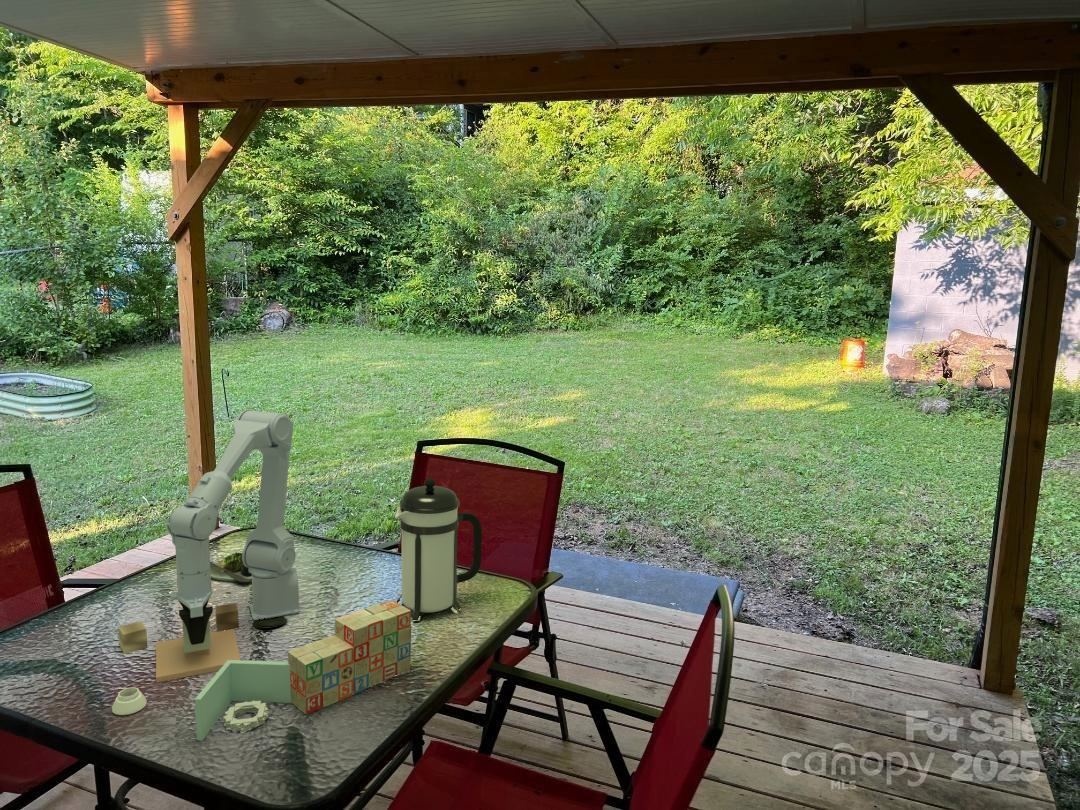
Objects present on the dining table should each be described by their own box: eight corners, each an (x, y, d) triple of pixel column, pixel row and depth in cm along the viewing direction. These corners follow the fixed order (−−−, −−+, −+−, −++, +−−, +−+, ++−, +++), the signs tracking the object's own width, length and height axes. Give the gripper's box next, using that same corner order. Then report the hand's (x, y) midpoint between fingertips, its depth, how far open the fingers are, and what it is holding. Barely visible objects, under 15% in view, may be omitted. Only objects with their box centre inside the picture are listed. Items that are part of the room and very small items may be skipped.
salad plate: (182, 581, 173) (181, 563, 172) (227, 554, 190) (226, 537, 189) (256, 590, 169) (255, 571, 169) (295, 562, 187) (295, 545, 186)
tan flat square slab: (234, 633, 148) (234, 628, 148) (240, 666, 136) (240, 661, 136) (156, 647, 142) (156, 642, 141) (156, 682, 129) (155, 677, 129)
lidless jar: (153, 702, 124) (126, 698, 125) (152, 686, 123) (125, 682, 124) (132, 719, 119) (105, 715, 120) (131, 702, 119) (103, 698, 119)
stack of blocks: (305, 716, 121) (304, 647, 119) (287, 701, 125) (286, 634, 123) (411, 671, 136) (411, 609, 134) (392, 658, 141) (392, 598, 139)
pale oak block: (142, 640, 144) (140, 621, 144) (147, 647, 141) (146, 628, 141) (119, 646, 142) (118, 627, 141) (124, 654, 139) (123, 634, 138)
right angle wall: (197, 743, 114) (194, 699, 113) (229, 700, 126) (227, 659, 125) (273, 745, 114) (272, 701, 113) (299, 702, 126) (298, 662, 125)
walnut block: (236, 620, 154) (236, 602, 153) (238, 628, 150) (238, 610, 150) (216, 624, 152) (215, 606, 151) (217, 632, 148) (216, 614, 148)
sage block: (209, 637, 141) (207, 608, 140) (210, 648, 137) (209, 618, 136) (183, 642, 139) (181, 612, 138) (184, 653, 135) (182, 622, 134)
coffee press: (448, 630, 153) (450, 491, 148) (381, 616, 158) (381, 482, 153) (481, 597, 169) (484, 471, 164) (420, 586, 174) (420, 464, 169)
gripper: (169, 558, 140) (172, 624, 143) (170, 587, 128) (173, 659, 130) (209, 553, 144) (212, 618, 146) (214, 581, 131) (217, 651, 133)
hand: (196, 637), depth 138 cm, fingers closed on sage block, 4 cm apart
